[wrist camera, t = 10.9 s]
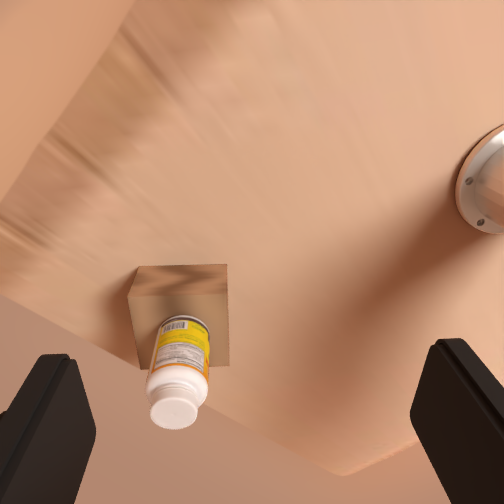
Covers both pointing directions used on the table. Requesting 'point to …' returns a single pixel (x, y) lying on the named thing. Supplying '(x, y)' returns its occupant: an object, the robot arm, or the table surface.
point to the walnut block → (180, 305)
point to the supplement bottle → (178, 372)
